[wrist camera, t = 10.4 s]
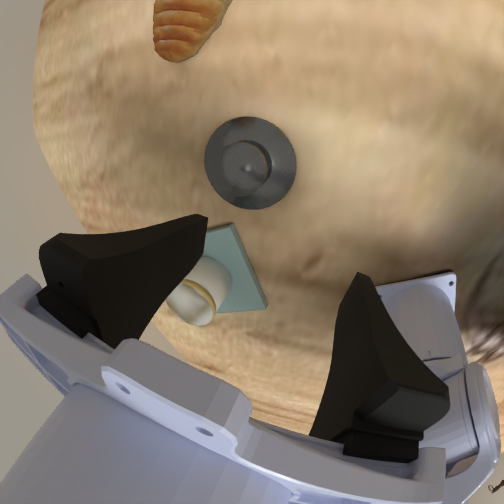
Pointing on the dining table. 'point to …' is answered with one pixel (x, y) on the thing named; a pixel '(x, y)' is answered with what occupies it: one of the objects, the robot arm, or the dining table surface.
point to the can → (201, 292)
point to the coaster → (235, 270)
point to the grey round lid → (250, 163)
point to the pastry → (185, 26)
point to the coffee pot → (503, 483)
